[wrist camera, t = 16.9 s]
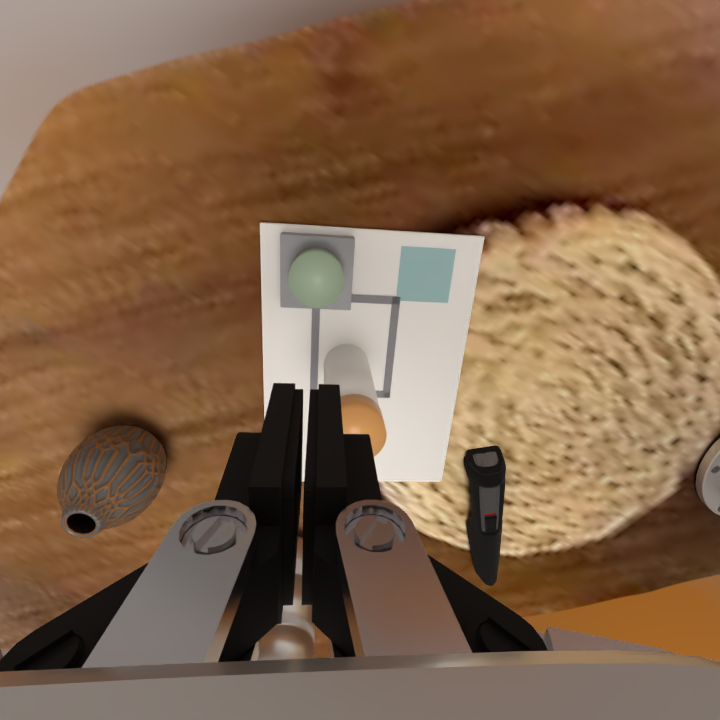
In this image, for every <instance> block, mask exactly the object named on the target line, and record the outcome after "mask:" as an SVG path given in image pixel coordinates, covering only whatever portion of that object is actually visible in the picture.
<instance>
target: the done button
mask: <svg viewBox="0 0 720 720" xmlns="http://www.w3.org/2000/svg"><path fill="white" fill-rule="evenodd" d="M288 283H289V288H290V290H291V292H292V294H293V296H294V297H295V298H296V299H297V300H298V301H299V302H301V303H302V304H304V305H306V306H309V307H315V308H318V307H324V306H327V305H330V304H331V303H333V302H334V301H335V300H336V299H337V298H338V297H339V296H340V294H341V292H342V290H343V286H344V274H343V270H342V266H341V263H340V261H339V260H338V258H337V257H336V256H335V255H334V254H333V253H332V252H330V251H328V250H326V249H323V248H309V249H306V250H304V251H302V252H301V253H299V254H298V255H297V256H296V258H295V259H294V261H293V263H292V266H291V268H290V271H289V275H288Z"/></svg>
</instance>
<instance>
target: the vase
mask: <svg viewBox="0 0 720 720" xmlns="http://www.w3.org/2000/svg"><path fill="white" fill-rule="evenodd" d="M166 465H167V462H166V455H165V451H164V449H163V447H162V445H161V444H160V442H159V441H158V440H157V438H156V437H155V436H153V435H152V434H151V433H149V432H148V431H146V430H144V429H142V428H139V427H135V426H127V425H118V426H112V427H109V428H105V429H103V430H100V431H98V432H96V433H94V434H92V435H91V436H89V437H88V438H86V439H85V440H84V441H83V442H81V443H80V444H79V445H78V446H77V447H76V448H75V449H74V450H73V452H72V453H71V454H70V455H69V457H68V458H67V460H66V461H65V463H64V465H63V467H62V470H61V472H60V475H59V479H58V485H57V495H58V500H59V503H60V506H61V509H62V519H61V523H62V526H63V528H64V530H65V531H66V532H68V533H69V534H71V535H73V536H75V537H80V538H88V537H92V536H94V535H96V534H97V533H99V532H100V531H102V530H105V529H109V528H112V527H116V526H119V525H122V524H124V523H126V522H129V521H130V520H132V519H134V518H135V517H137V516H138V515H139V514H140V513H142V512H143V511H144V510H145V509H146V508H147V507H148V506H149V505H150V504H151V503H152V501H153V500H154V499H155V497H156V496H157V494H158V492H159V491H160V489H161V486H162V484H163V481H164V479H165V474H166Z"/></svg>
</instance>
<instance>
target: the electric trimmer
mask: <svg viewBox="0 0 720 720" xmlns="http://www.w3.org/2000/svg"><path fill="white" fill-rule="evenodd" d="M464 466H465V470H466V472H467V475H468V477H469V479H470V488H471V503H472V511H471V518H470V519H469V521H468V522H467V532H468V537H469V543H470V548H471V554H472V560H473V565H474V568H475V571H476V573H477V574H478V576H479V577H480V578H481V580H482V581H483V582H484V583H485V584H486V585H489V586H491V585H493V584H494V583H495V582H496V580H497V572H498V564H499V555H500V544H501V533H502V516H503V504H504V492H505V471H506V465H505V461H504V458H503V456H502V452H501V450H500V448H499V447H497V446H490V447H483V448H477V449H470V450H468V451H467V454H466V456H465V457H464ZM483 529H484V530H483Z"/></svg>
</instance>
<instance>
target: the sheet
mask: <svg viewBox="0 0 720 720" xmlns="http://www.w3.org/2000/svg"><path fill="white" fill-rule="evenodd" d="M281 232H295V233H312V234H328V235H345V236H354V238H355V248H354V265H353V281H352V297H351V310H331V309H308V308H285V307H280V234H281ZM483 243H484V236H477V235H461V234H445V233H429V232H413V231H397V230H381V229H365V228H349V227H333V226H317V225H301V224H285V223H269V222H260V251H261V294H262V337H263V380H264V420H265V416H266V412H267V407H268V403H269V399H270V395H271V391H272V387H273V383H295V389H303V444H302V481H304V478H305V462H306V446H307V430H308V414H309V398H310V389H317V390H318V386H319V384H324V360H325V357H326V355H327V354H328V352H329V351H330V350H332V349H333V348H335V347H337V346H339V345H344V344H349V345H354V346H357V347H358V348H360V349H361V350H362V351H363V352H364V353H365V354H366V356H367V358H368V362H369V366H370V370H371V374H372V378H373V382H374V386H375V390H376V394H377V399H378V403H379V407H380V409H381V412H382V416H383V420H384V424H385V428H386V433H387V437H386V442H385V445H384V447H383V448H382V450H381V451H380V452H379V453H378V454H377V455H376V456H375V457H374V461H375V467H376V472H377V478H378V482H441V481H442V475H443V469H444V464H445V458H446V452H447V447H448V441H449V435H450V430H451V424H452V418H453V413H454V407H455V401H456V396H457V390H458V385H459V379H460V373H461V368H462V362H463V356H464V351H465V345H466V339H467V334H468V328H469V322H470V317H471V311H472V305H473V300H474V294H475V288H476V283H477V277H478V271H479V266H480V260H481V254H482V249H483Z"/></svg>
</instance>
